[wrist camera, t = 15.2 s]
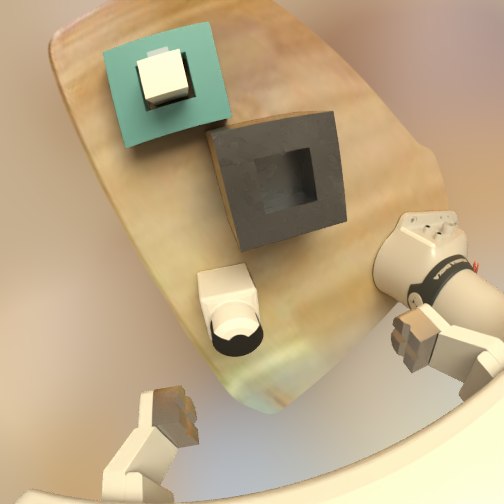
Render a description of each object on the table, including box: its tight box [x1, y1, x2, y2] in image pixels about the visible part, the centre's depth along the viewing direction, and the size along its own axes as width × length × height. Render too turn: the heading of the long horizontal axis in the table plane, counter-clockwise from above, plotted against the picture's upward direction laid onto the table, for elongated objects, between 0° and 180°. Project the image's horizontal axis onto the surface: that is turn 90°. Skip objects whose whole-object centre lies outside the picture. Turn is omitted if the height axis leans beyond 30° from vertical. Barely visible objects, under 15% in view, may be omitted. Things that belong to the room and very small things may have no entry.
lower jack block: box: [103, 21, 232, 148], centre depth 27 cm, size 12×12×4 cm
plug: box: [137, 46, 188, 105], centre depth 25 cm, size 4×5×9 cm
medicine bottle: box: [197, 263, 263, 357], centre depth 37 cm, size 7×7×12 cm
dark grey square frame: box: [205, 111, 347, 252], centre depth 32 cm, size 12×12×10 cm
